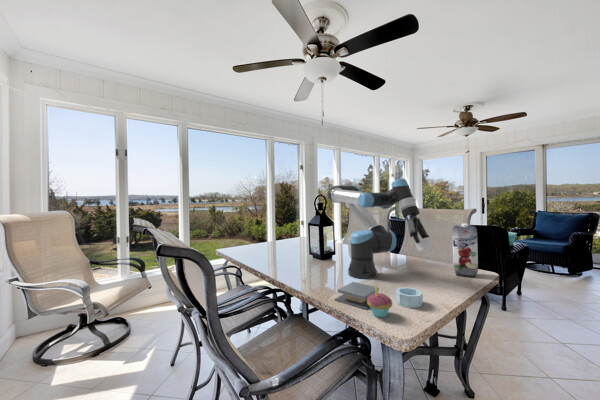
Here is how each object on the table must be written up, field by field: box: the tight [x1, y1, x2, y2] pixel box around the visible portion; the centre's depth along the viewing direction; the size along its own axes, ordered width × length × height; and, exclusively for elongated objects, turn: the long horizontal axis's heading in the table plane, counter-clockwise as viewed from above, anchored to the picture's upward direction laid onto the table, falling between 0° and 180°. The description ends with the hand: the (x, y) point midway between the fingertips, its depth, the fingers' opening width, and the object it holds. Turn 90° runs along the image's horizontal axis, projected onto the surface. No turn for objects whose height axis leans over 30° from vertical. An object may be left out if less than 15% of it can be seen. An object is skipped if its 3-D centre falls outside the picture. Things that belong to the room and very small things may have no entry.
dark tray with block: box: [334, 294, 371, 311], centre depth 103 cm, size 14×14×3 cm
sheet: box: [337, 281, 380, 300], centre depth 103 cm, size 12×12×1 cm
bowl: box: [395, 286, 424, 309], centre depth 98 cm, size 9×9×4 cm
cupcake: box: [367, 282, 393, 318], centre depth 89 cm, size 9×8×12 cm
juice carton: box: [452, 222, 479, 278], centre depth 131 cm, size 9×10×27 cm
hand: (425, 250), depth 114 cm, fingers open, 13 cm apart
